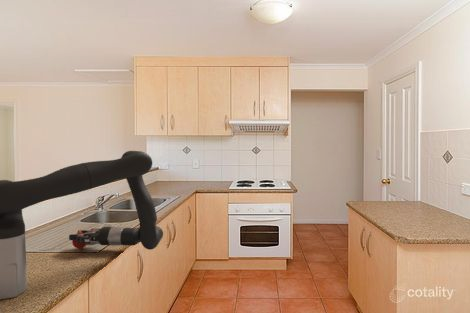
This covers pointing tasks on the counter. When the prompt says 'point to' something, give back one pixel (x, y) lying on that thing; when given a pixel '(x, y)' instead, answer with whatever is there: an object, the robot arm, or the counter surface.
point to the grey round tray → (94, 242)
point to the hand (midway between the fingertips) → (74, 235)
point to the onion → (78, 245)
